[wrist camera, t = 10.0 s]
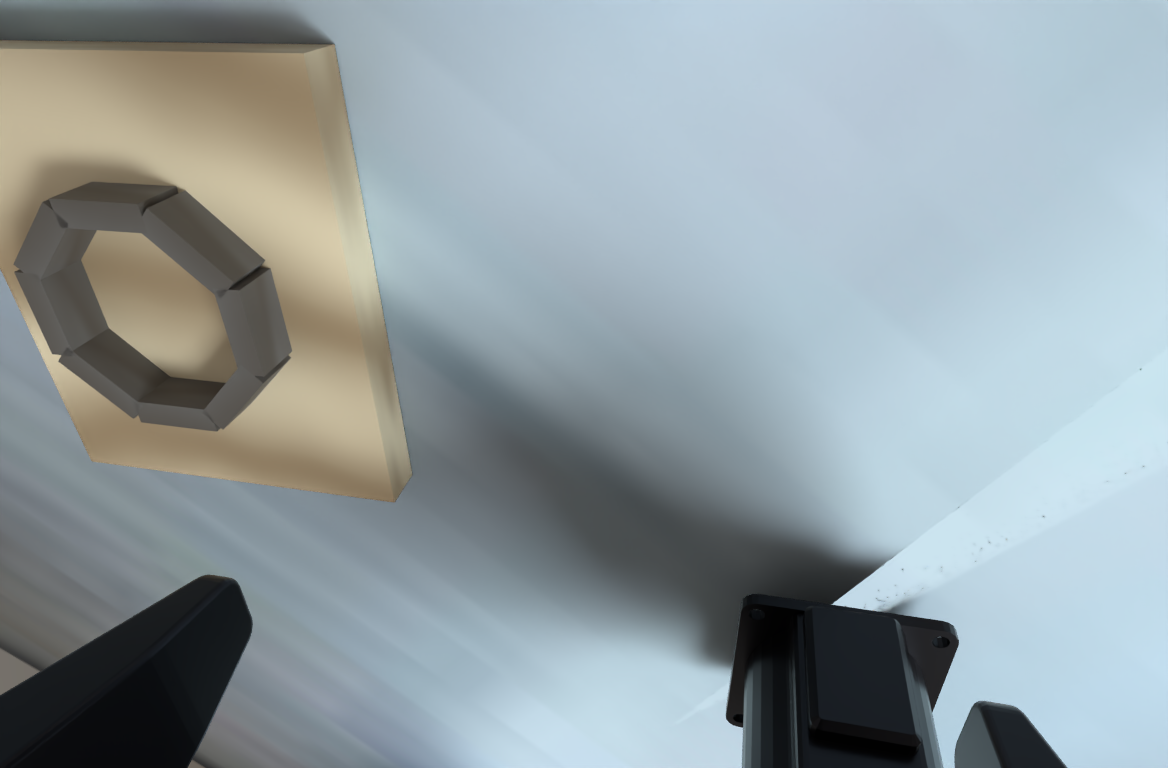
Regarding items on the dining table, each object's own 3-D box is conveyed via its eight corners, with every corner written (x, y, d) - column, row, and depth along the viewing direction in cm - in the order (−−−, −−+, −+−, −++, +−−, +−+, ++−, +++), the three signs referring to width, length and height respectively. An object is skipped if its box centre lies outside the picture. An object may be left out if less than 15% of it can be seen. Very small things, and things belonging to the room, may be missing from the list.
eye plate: (412, 474, 26) (374, 533, 24) (121, 437, 28) (59, 487, 26) (334, 44, 19) (267, 63, 16) (-54, 39, 21) (-165, 55, 18)
